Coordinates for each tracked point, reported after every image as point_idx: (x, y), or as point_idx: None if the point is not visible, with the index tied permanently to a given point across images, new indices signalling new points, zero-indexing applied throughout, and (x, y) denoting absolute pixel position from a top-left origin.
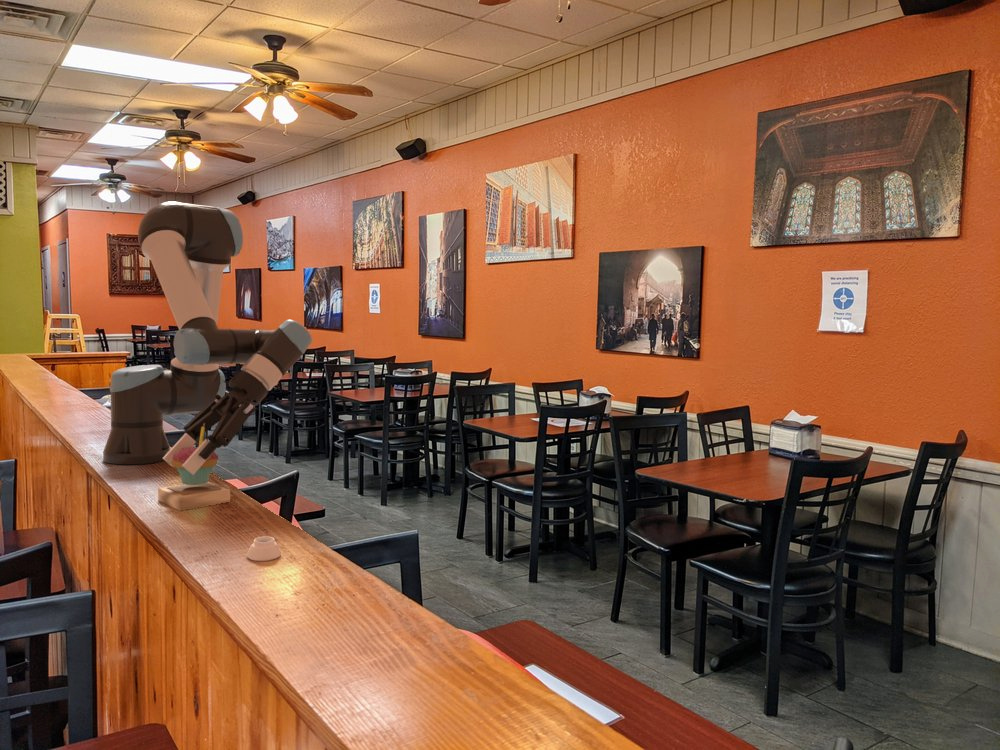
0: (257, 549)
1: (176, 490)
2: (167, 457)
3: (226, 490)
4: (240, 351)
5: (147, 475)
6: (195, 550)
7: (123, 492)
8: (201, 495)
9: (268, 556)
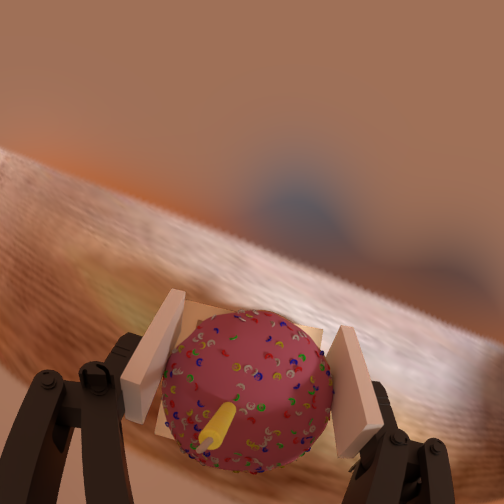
0: None
1: None
2: (340, 337)
3: (156, 424)
4: None
5: (489, 414)
6: (17, 180)
7: (421, 321)
8: None
9: None
